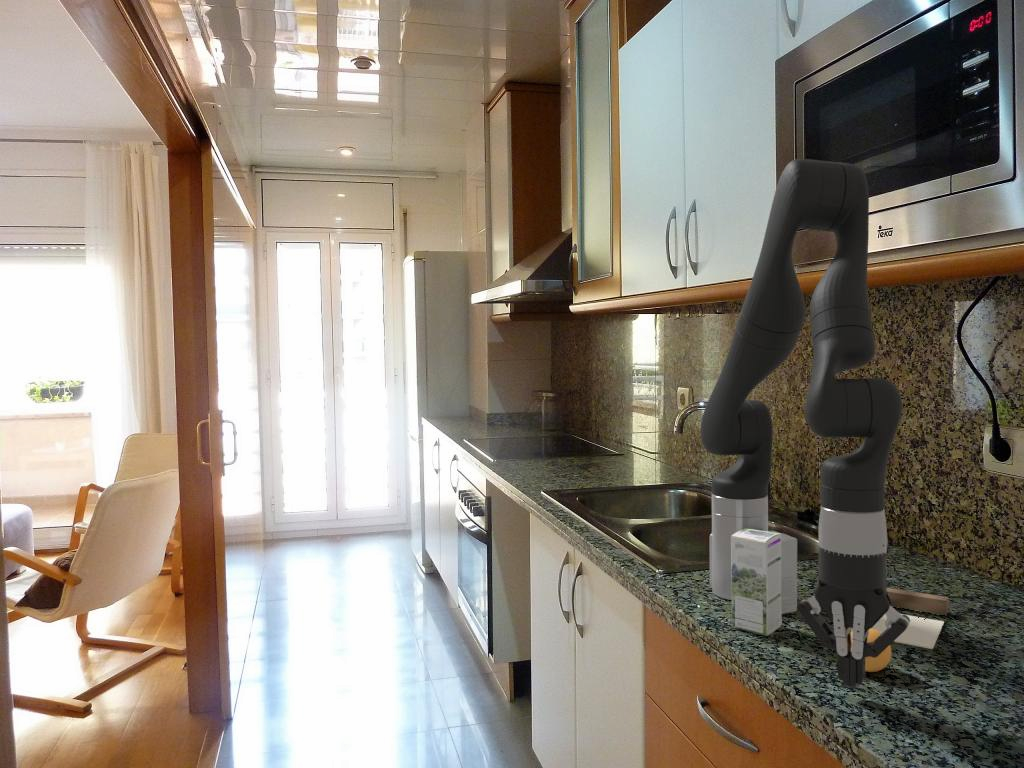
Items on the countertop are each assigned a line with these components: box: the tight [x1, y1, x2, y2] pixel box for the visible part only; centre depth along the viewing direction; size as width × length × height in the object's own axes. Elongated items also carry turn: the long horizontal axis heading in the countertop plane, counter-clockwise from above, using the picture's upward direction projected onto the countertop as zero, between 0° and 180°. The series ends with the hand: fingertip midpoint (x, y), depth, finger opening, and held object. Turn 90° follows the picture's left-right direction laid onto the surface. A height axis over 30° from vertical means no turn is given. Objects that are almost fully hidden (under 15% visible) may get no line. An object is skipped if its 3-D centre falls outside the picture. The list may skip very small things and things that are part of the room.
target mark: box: [851, 613, 945, 650], centre depth 116 cm, size 12×12×1 cm
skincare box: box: [766, 530, 798, 615], centre depth 125 cm, size 6×4×12 cm
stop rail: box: [887, 587, 949, 617], centre depth 124 cm, size 12×2×2 cm, turn 54°
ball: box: [851, 628, 892, 673], centre depth 101 cm, size 6×6×6 cm
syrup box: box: [731, 529, 783, 637], centre depth 117 cm, size 6×6×14 cm
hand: (851, 684), depth 94 cm, fingers closed
